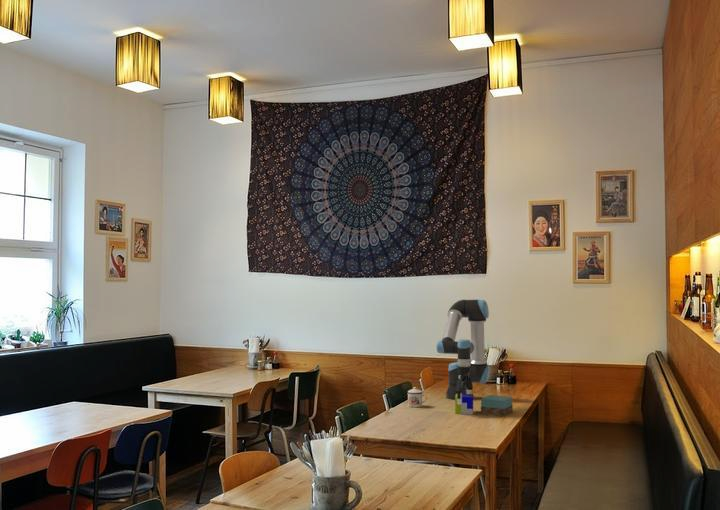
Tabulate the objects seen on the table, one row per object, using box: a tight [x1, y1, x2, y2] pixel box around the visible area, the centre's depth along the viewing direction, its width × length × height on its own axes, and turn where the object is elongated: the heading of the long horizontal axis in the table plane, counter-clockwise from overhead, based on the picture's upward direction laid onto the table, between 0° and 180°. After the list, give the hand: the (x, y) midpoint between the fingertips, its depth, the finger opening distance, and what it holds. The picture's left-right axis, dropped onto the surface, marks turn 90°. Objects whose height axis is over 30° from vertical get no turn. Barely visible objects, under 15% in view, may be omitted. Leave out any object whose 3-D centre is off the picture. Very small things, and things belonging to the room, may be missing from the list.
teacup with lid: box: [407, 386, 428, 408], centre depth 407 cm, size 12×9×12 cm
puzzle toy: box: [454, 393, 474, 416], centre depth 388 cm, size 10×10×10 cm
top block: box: [480, 394, 513, 409], centre depth 388 cm, size 14×14×4 cm
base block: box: [480, 404, 514, 417], centre depth 388 cm, size 14×14×4 cm
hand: (464, 402), depth 388 cm, fingers open, 13 cm apart
